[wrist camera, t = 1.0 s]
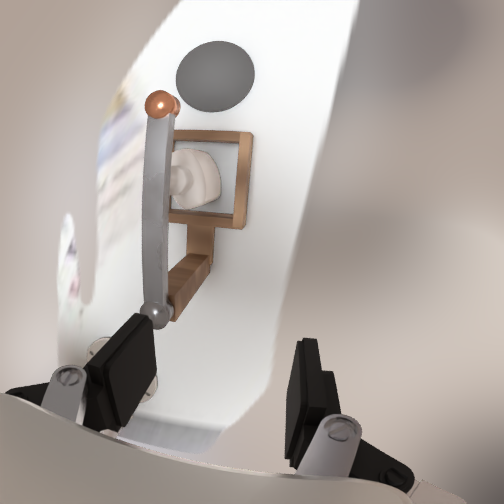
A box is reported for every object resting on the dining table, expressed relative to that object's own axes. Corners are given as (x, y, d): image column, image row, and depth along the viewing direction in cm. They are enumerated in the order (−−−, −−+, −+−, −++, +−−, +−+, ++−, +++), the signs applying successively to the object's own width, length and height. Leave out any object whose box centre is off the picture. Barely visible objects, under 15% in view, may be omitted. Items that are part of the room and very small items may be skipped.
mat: (250, 113, 31) (250, 112, 30) (173, 112, 31) (171, 111, 31) (257, 43, 28) (257, 41, 28) (182, 44, 29) (181, 43, 28)
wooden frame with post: (241, 276, 36) (220, 329, 24) (162, 265, 36) (111, 309, 24) (253, 135, 31) (235, 115, 19) (167, 132, 32) (110, 118, 20)
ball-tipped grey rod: (174, 322, 24) (167, 333, 22) (148, 317, 24) (139, 327, 22) (184, 95, 19) (175, 89, 17) (154, 96, 19) (144, 91, 17)
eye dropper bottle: (229, 156, 32) (199, 149, 21) (218, 204, 34) (185, 223, 22) (192, 149, 32) (146, 141, 21) (182, 197, 34) (135, 212, 22)
